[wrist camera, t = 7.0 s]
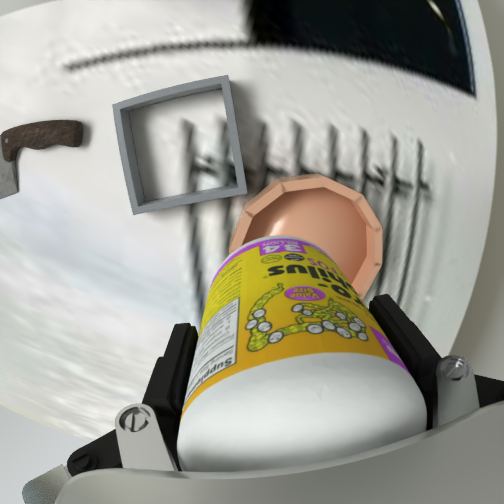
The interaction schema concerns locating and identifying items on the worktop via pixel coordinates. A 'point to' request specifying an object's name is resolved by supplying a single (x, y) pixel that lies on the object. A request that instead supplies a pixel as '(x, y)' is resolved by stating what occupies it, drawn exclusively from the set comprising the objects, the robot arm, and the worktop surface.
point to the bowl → (317, 223)
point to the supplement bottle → (291, 367)
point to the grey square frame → (130, 157)
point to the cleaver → (33, 145)
